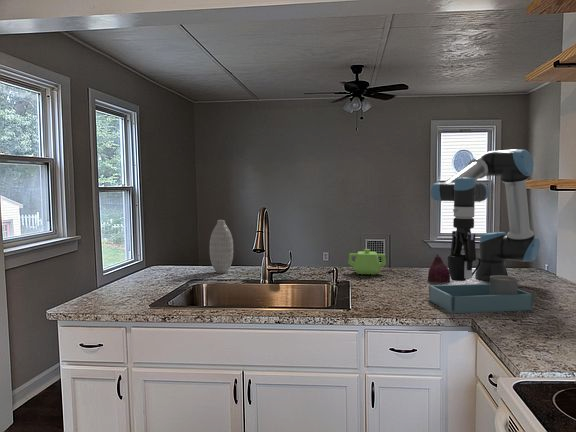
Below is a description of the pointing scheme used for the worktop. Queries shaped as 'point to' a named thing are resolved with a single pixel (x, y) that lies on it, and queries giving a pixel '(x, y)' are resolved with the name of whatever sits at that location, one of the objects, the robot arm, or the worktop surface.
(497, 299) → the tote
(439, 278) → the vegetable
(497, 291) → the coffee mug
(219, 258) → the vase
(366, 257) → the green rounded pot
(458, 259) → the mug
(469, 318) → the worktop surface
